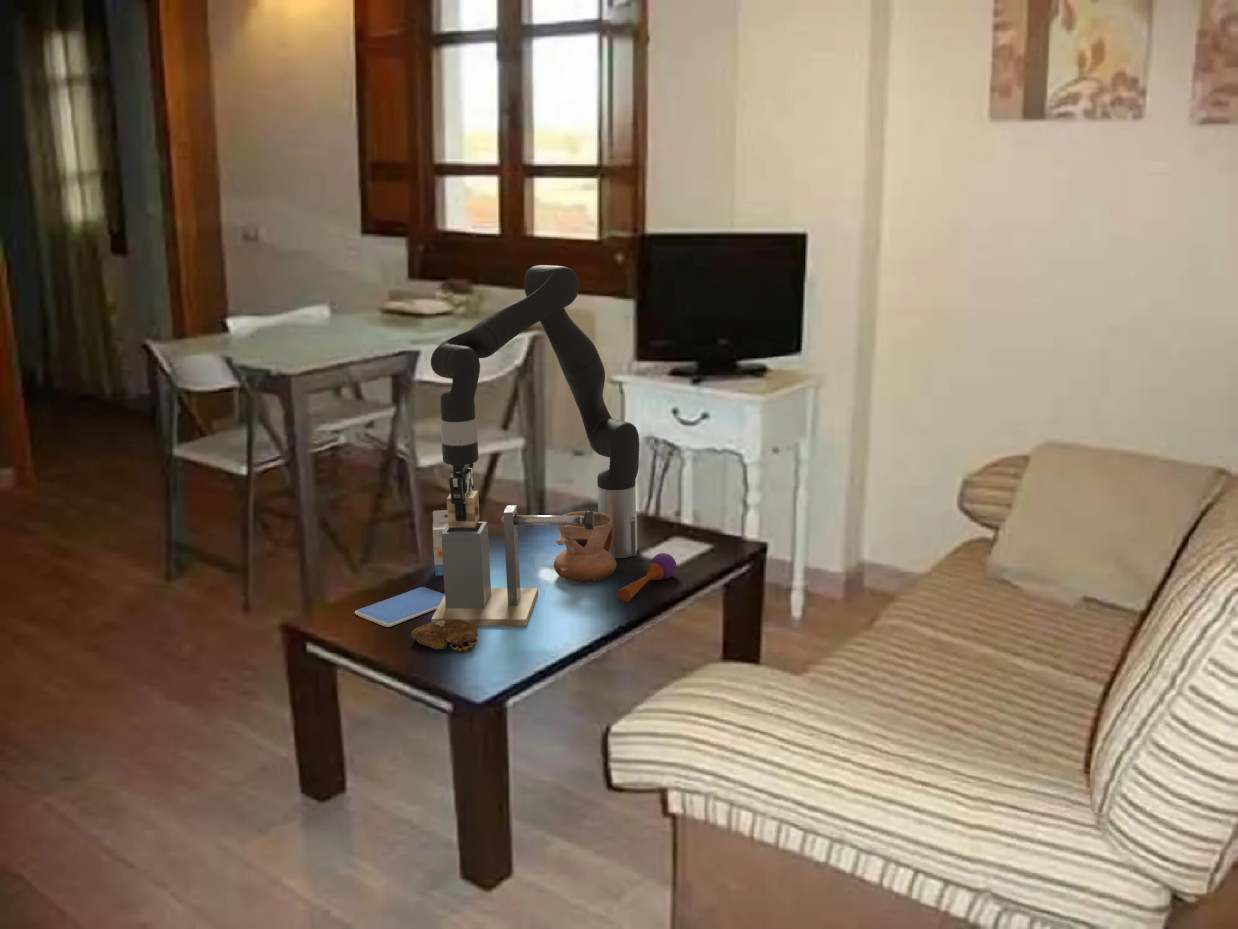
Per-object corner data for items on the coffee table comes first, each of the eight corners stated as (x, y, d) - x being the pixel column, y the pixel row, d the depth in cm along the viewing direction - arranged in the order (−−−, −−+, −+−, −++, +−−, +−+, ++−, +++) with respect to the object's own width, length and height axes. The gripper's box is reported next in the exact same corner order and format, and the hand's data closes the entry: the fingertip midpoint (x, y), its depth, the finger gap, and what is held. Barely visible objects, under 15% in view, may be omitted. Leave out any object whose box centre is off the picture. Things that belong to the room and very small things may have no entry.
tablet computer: (422, 590, 271) (422, 585, 271) (459, 603, 263) (459, 597, 263) (353, 616, 257) (352, 610, 257) (389, 630, 249) (388, 624, 249)
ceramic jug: (581, 594, 265) (581, 533, 262) (537, 578, 275) (536, 519, 271) (635, 574, 278) (636, 515, 274) (591, 559, 288) (591, 503, 284)
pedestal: (491, 594, 262) (487, 521, 258) (484, 608, 254) (480, 533, 250) (453, 593, 263) (449, 521, 259) (445, 608, 255) (441, 533, 250)
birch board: (537, 594, 266) (537, 588, 265) (526, 626, 248) (526, 619, 248) (449, 593, 267) (449, 587, 267) (431, 625, 250) (431, 618, 249)
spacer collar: (479, 519, 256) (478, 490, 255) (474, 527, 251) (473, 498, 249) (453, 519, 257) (452, 490, 255) (448, 527, 251) (446, 498, 250)
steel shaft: (593, 526, 254) (593, 508, 253) (592, 532, 250) (591, 514, 249) (503, 526, 256) (502, 508, 255) (500, 532, 252) (499, 514, 251)
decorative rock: (497, 643, 242) (441, 630, 250) (496, 623, 241) (440, 612, 249) (460, 660, 233) (403, 647, 241) (459, 640, 232) (402, 627, 240)
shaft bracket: (520, 597, 260) (516, 505, 255) (517, 605, 255) (512, 512, 250) (511, 597, 260) (507, 505, 255) (508, 605, 256) (503, 512, 250)
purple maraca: (610, 582, 261) (656, 549, 277) (616, 607, 263) (661, 573, 279) (632, 582, 258) (677, 549, 274) (638, 608, 259) (683, 573, 275)
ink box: (435, 577, 278) (431, 517, 274) (435, 569, 283) (431, 510, 279) (471, 574, 279) (468, 514, 275) (471, 567, 284) (467, 508, 280)
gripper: (470, 448, 242) (475, 527, 246) (483, 431, 256) (487, 506, 260) (434, 448, 243) (439, 527, 247) (449, 431, 256) (453, 506, 261)
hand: (464, 516), depth 254 cm, fingers closed on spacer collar, 5 cm apart
